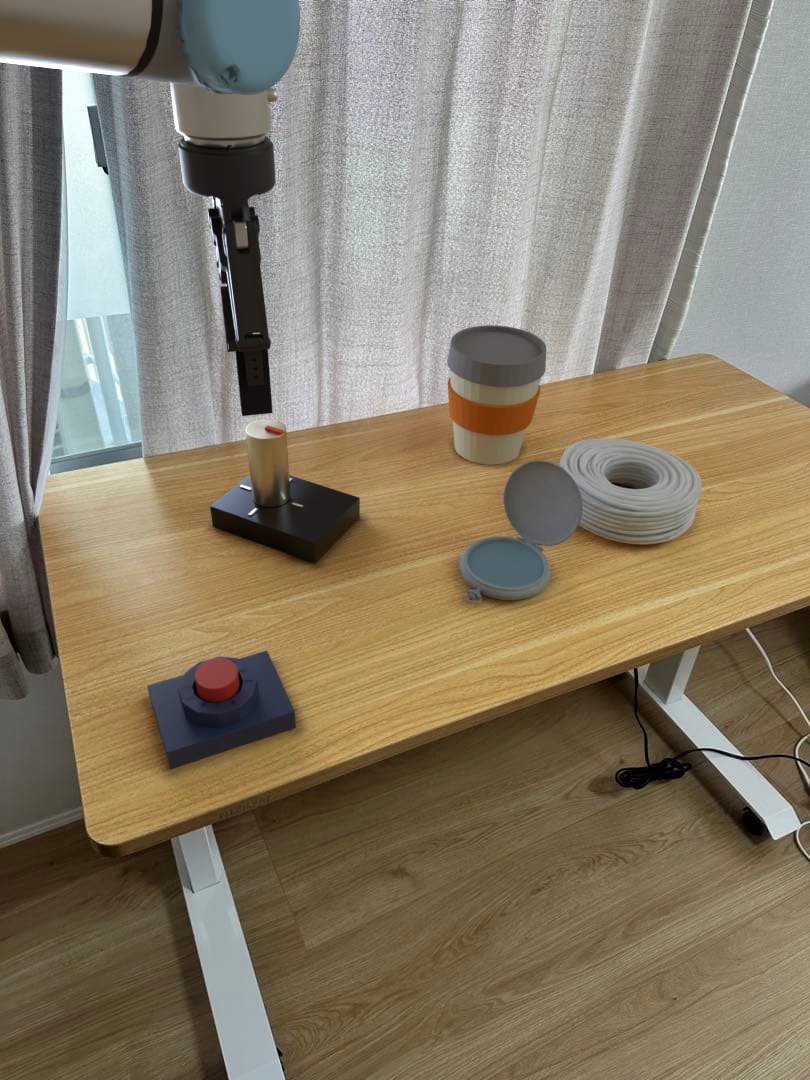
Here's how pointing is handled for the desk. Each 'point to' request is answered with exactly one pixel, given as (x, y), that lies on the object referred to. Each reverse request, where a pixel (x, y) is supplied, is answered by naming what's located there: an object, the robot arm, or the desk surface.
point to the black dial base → (289, 518)
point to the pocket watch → (524, 534)
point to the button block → (220, 711)
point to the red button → (217, 680)
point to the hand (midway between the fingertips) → (248, 379)
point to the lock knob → (268, 462)
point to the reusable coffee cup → (493, 390)
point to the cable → (632, 490)
